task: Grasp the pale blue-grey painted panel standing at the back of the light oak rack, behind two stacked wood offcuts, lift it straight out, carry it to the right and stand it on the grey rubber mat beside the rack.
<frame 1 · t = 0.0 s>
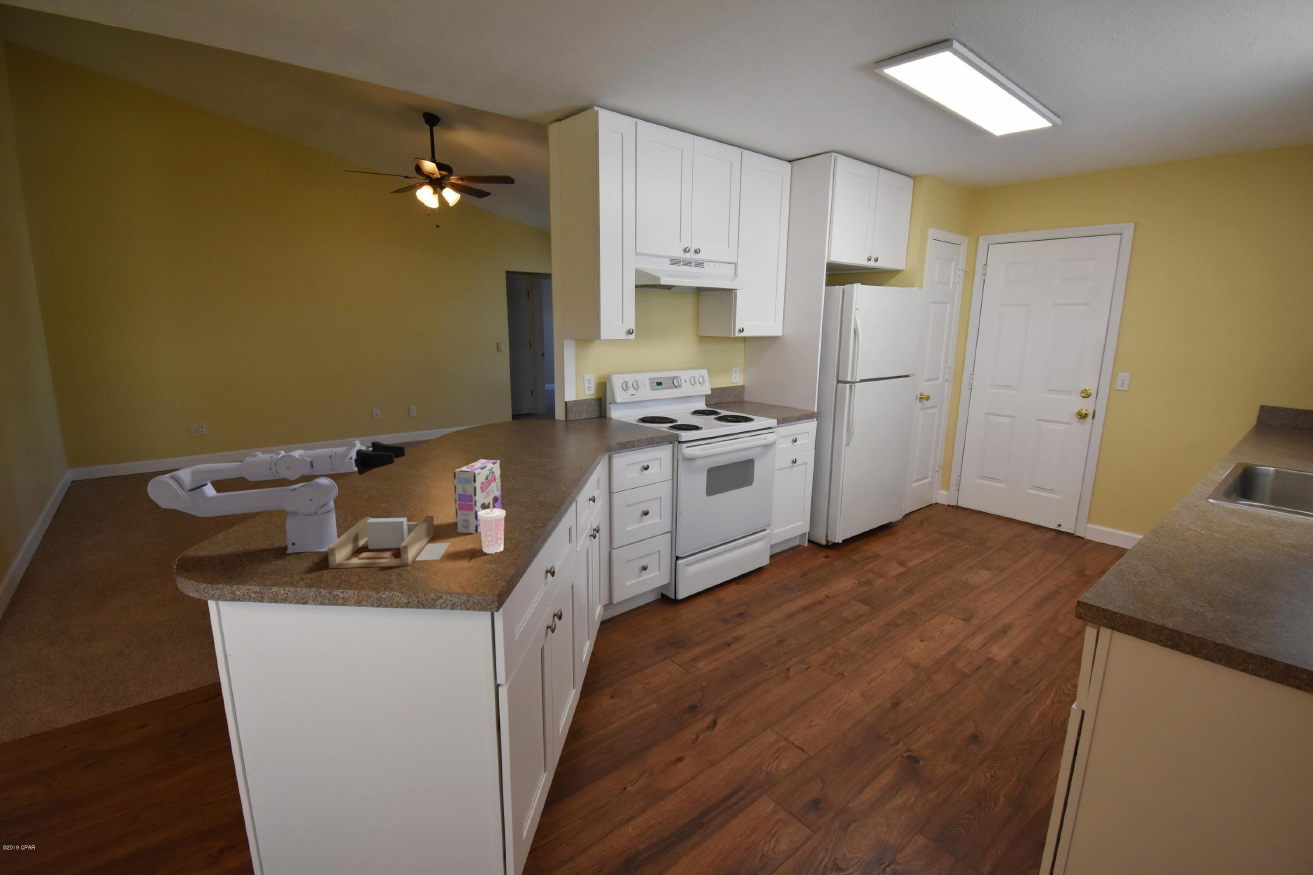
hand: (399, 454, 130), 22 cm above the table, tool horizontal, fingers open, 7 cm apart
offcut long: (371, 564, 124), on the table, touching offcut short
beverage cup: (493, 550, 132), on the table
rack: (386, 551, 130), on the table
candy box: (480, 526, 147), on the table
mat: (433, 553, 129), on the table
panel: (389, 548, 132), on the table
offcut short: (375, 559, 123), point 1 cm above the table, touching offcut long
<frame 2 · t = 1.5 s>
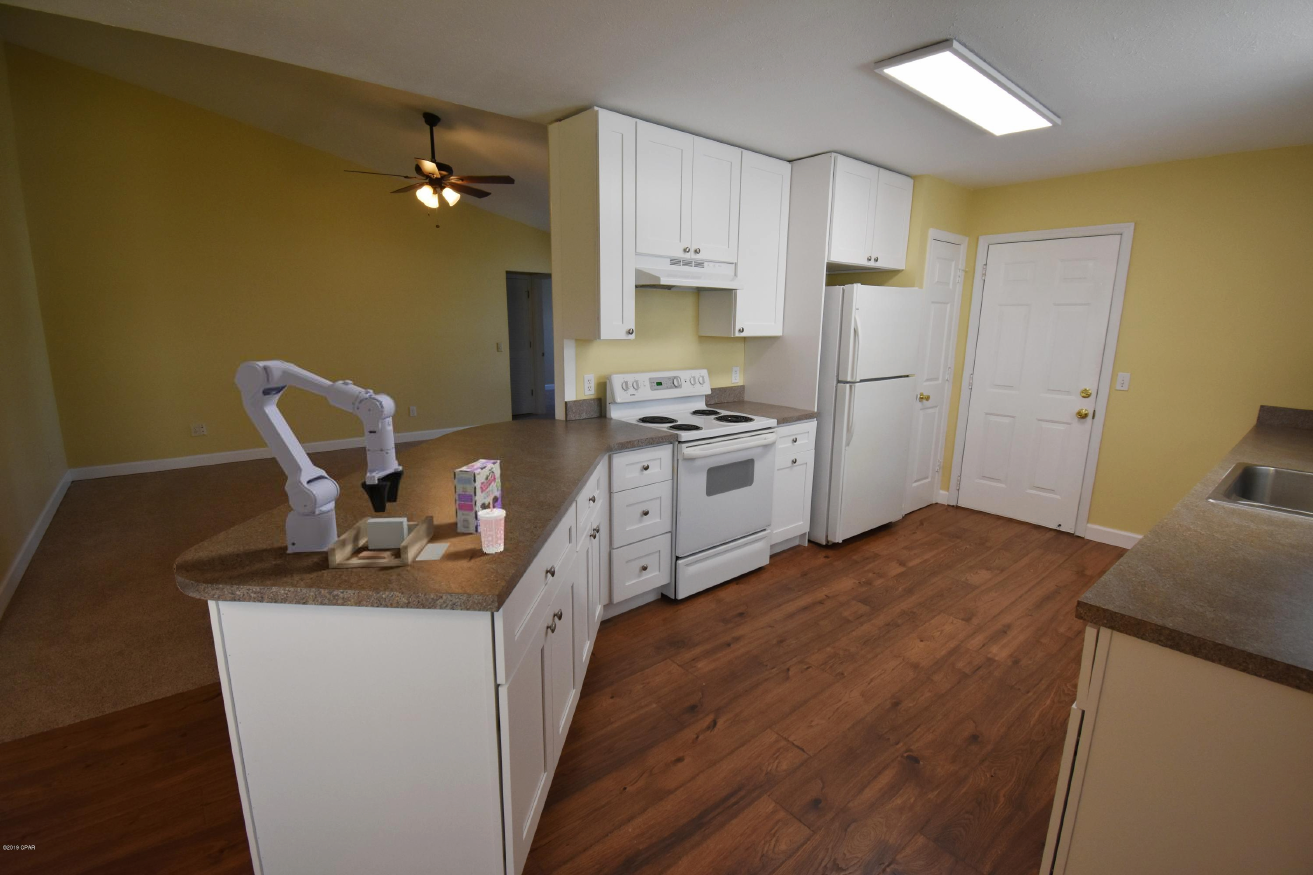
hand: (386, 506, 130), 10 cm above the table, tool pointing down, fingers open, 7 cm apart
nothing on the table moved.
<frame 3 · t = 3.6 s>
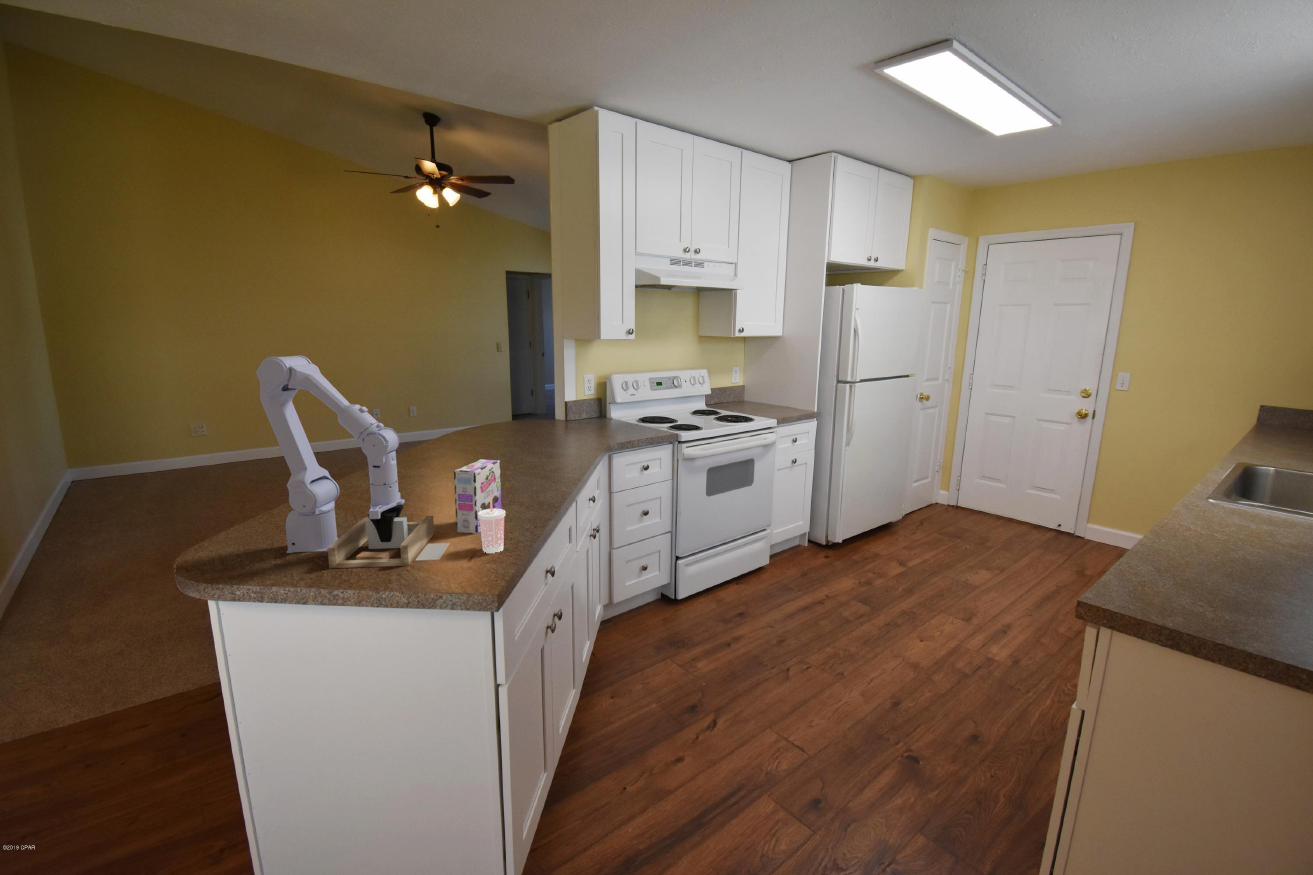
hand: (388, 539, 131), 2 cm above the table, tool pointing down, fingers closed on panel, 2 cm apart
panel: (389, 548, 132), on the table, touching gripper
everything else where it was.
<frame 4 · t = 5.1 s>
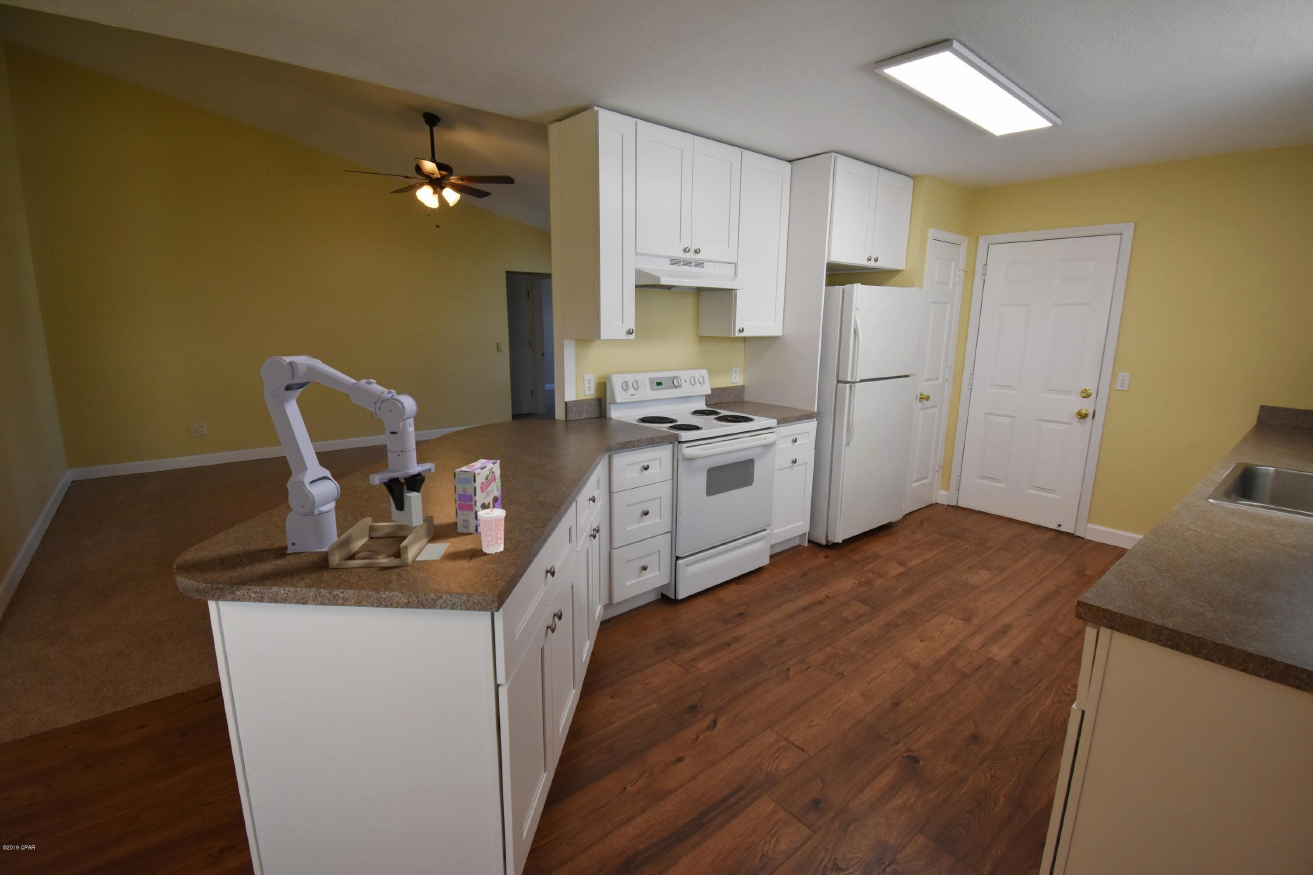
hand: (406, 508, 128), 10 cm above the table, tool pointing down, fingers closed on panel, 2 cm apart
panel: (407, 521, 129), point 7 cm above the table, touching gripper
everything else where it was.
when the fingers open (4 cm above the table, at t = 7.3 s): panel stays where it is, resting on mat.
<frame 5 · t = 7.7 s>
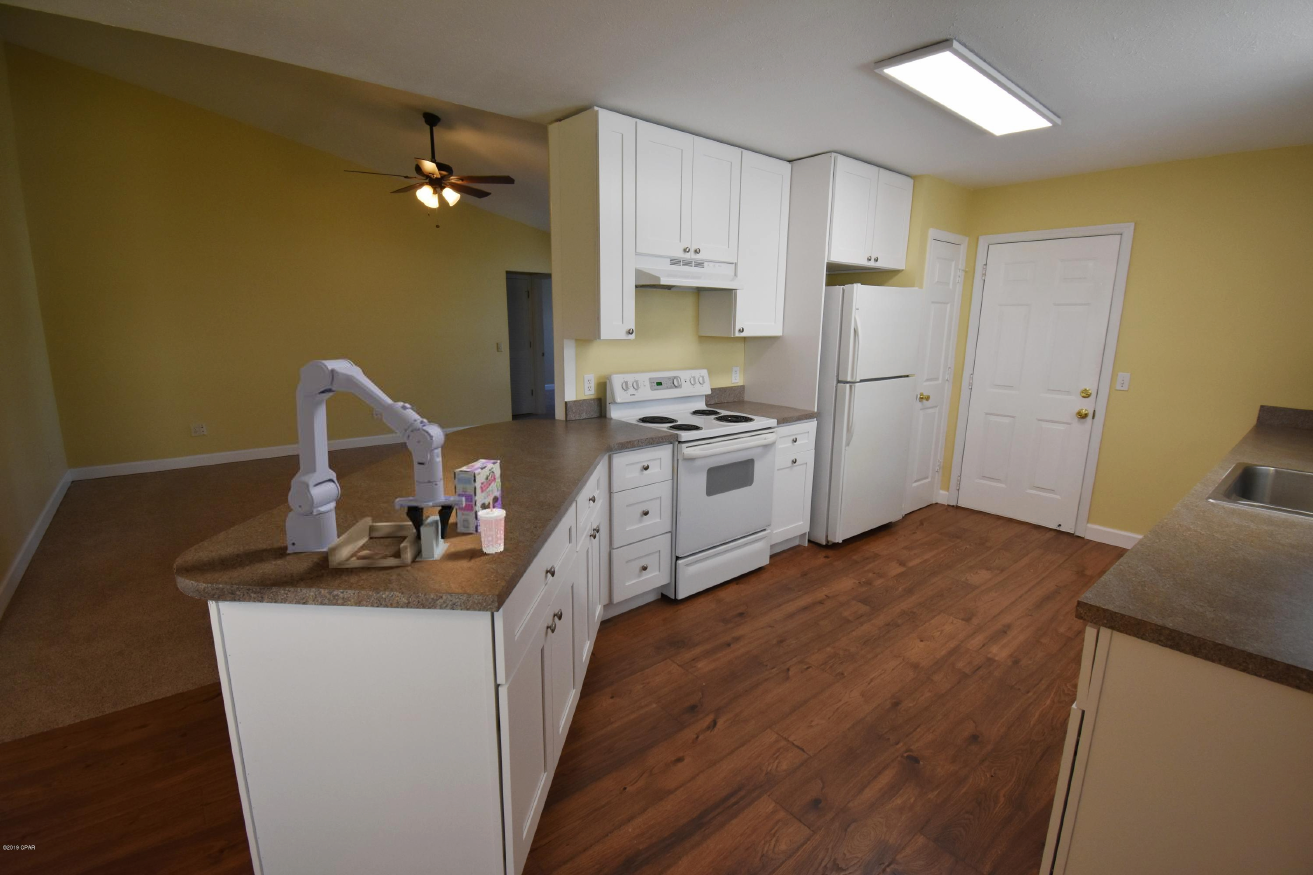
hand: (432, 538, 128), 4 cm above the table, tool pointing down, fingers open, 4 cm apart
panel: (433, 551, 129), point 1 cm above the table, touching mat
everything else where it was.
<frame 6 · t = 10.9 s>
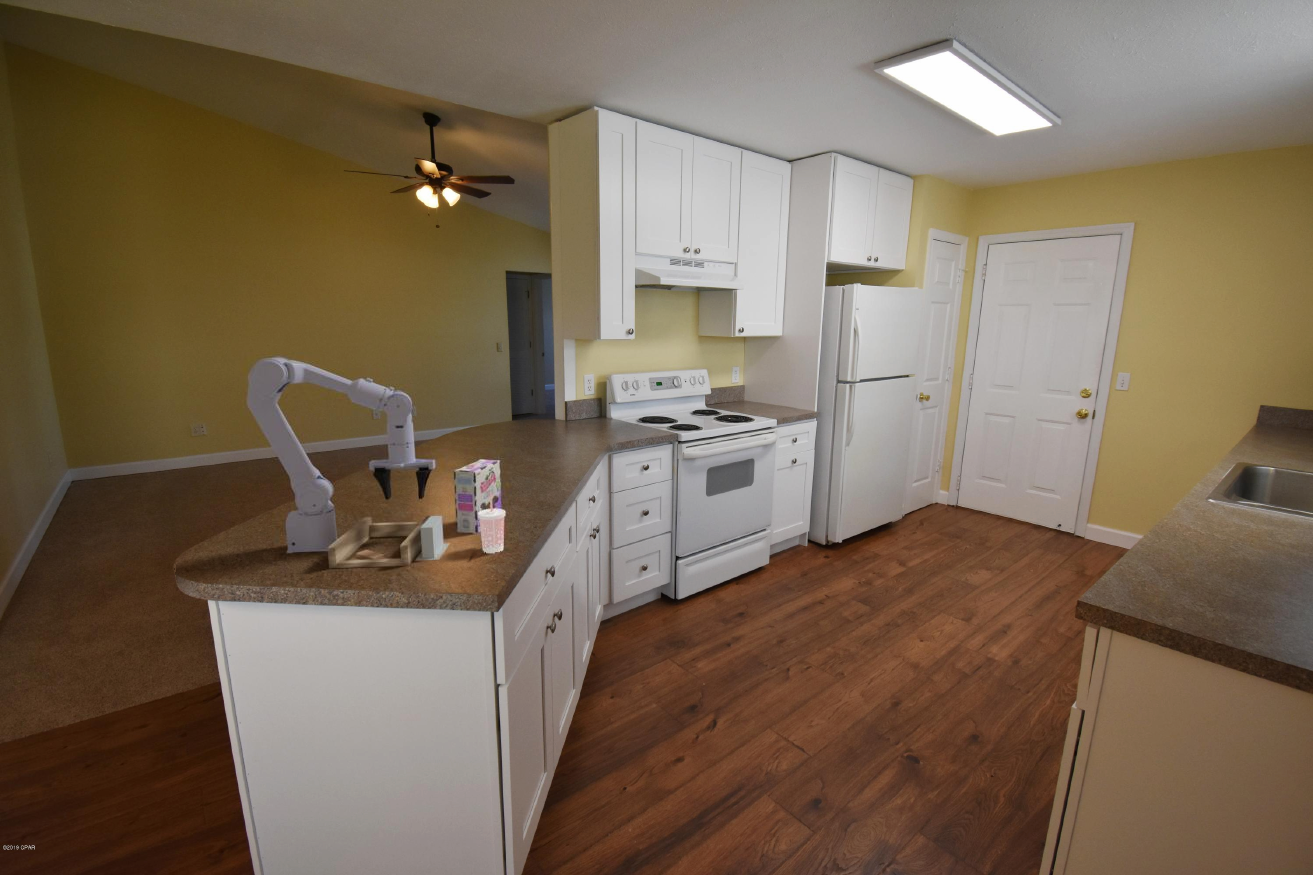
hand: (405, 498, 137), 10 cm above the table, tool pointing down, fingers open, 7 cm apart
at the end: panel inside the target area on the mat (0.1 cm from its centre), point 0.6 cm above the mat's base; panel tilted 0°; the gripper is holding nothing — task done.
